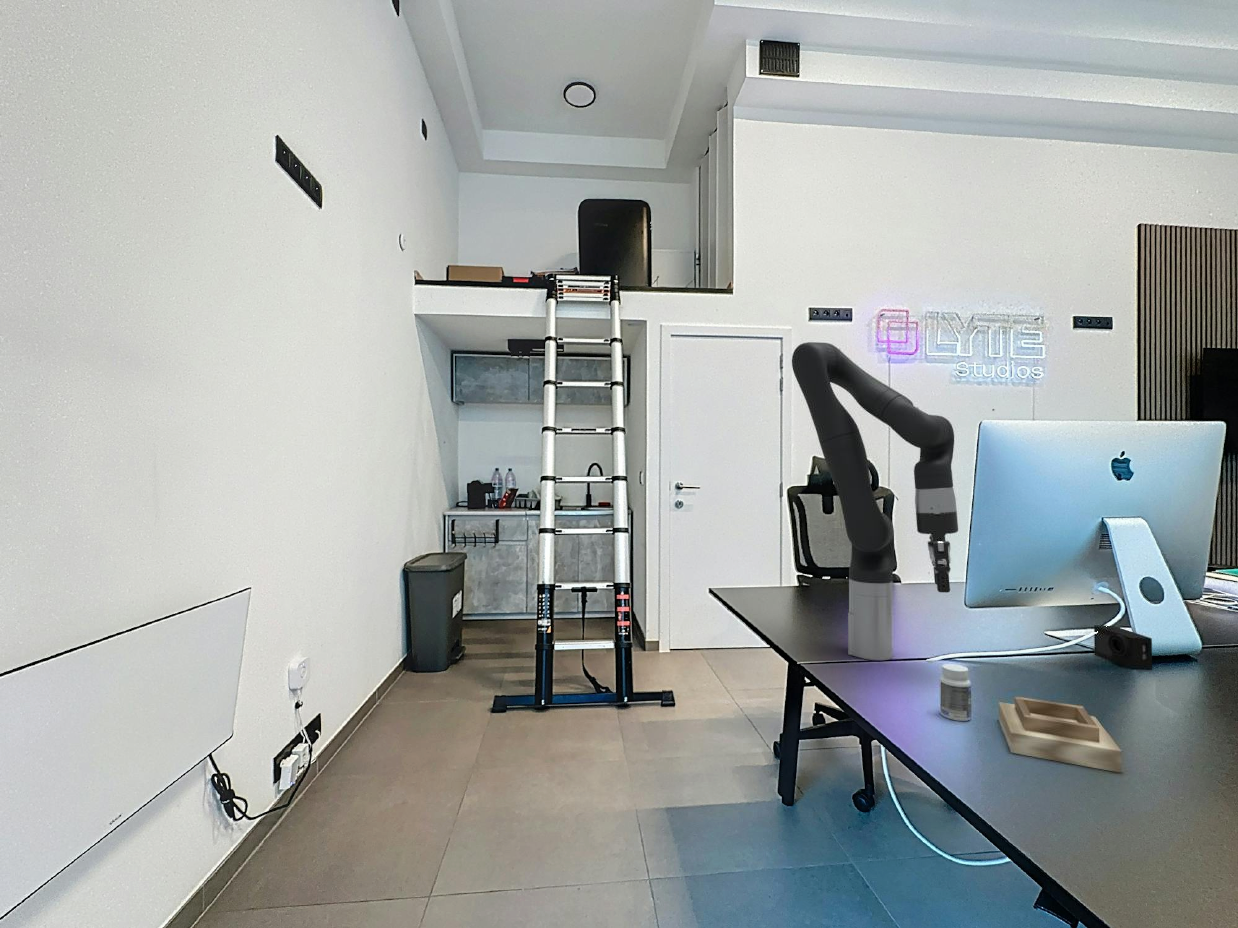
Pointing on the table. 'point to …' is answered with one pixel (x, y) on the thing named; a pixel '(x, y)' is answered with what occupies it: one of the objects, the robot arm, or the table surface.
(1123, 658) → the digital camera
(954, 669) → the pill bottle
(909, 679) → the table surface
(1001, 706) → the wooden base
